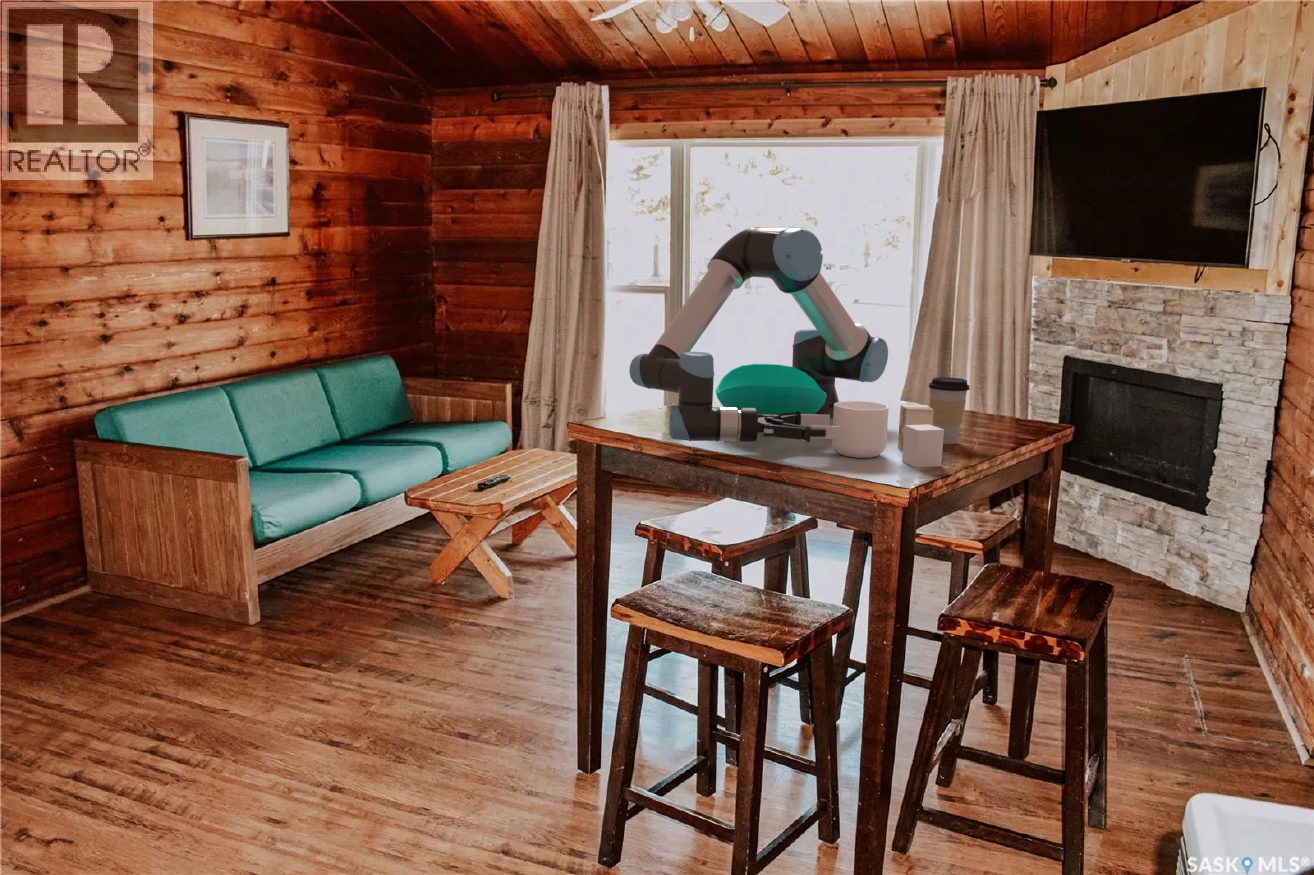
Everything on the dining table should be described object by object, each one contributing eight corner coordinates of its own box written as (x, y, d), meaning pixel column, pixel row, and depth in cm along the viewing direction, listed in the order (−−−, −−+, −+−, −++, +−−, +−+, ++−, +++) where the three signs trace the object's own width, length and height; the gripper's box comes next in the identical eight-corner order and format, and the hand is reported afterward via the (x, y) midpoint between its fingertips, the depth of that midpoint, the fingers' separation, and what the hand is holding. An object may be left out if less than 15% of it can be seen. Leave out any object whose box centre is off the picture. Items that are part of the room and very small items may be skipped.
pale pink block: (902, 461, 225) (904, 425, 224) (926, 460, 227) (929, 424, 225) (916, 467, 220) (918, 430, 218) (941, 466, 221) (944, 429, 220)
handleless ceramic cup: (883, 462, 224) (886, 411, 221) (828, 458, 227) (830, 407, 225) (887, 451, 235) (890, 403, 233) (834, 447, 238) (837, 399, 236)
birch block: (897, 447, 240) (900, 404, 238) (923, 447, 240) (926, 405, 238) (904, 452, 234) (907, 409, 232) (930, 453, 234) (933, 409, 232)
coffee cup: (916, 441, 247) (921, 378, 244) (937, 436, 254) (942, 375, 251) (952, 447, 240) (957, 383, 237) (972, 442, 247) (977, 380, 244)
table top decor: (834, 443, 242) (837, 387, 239) (715, 440, 243) (717, 384, 240) (815, 413, 281) (818, 365, 278) (713, 410, 282) (715, 362, 279)
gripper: (733, 430, 242) (824, 432, 242) (743, 453, 217) (844, 455, 218) (734, 398, 240) (826, 400, 240) (744, 418, 216) (846, 420, 216)
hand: (835, 426), depth 229 cm, fingers open, 13 cm apart
